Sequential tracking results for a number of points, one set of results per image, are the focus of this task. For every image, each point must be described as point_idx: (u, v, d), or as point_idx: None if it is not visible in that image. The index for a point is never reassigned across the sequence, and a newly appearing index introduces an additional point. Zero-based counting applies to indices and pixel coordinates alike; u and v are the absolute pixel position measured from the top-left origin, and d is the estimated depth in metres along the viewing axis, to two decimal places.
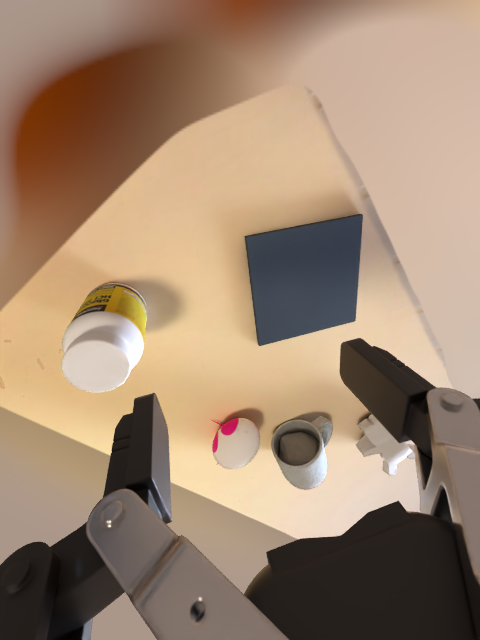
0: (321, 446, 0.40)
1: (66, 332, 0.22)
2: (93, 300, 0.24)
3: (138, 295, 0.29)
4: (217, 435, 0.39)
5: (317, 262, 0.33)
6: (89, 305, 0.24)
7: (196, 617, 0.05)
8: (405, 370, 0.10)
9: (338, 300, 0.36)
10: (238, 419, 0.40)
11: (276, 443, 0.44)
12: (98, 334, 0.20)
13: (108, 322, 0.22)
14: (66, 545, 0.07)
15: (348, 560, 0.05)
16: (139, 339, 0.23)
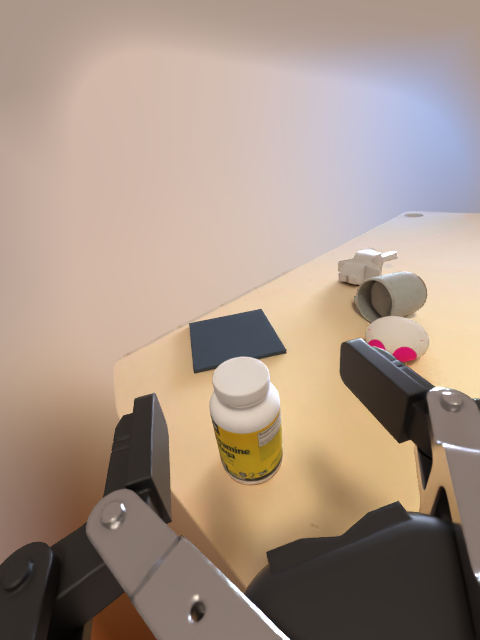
0: (362, 282, 0.46)
1: (223, 422, 0.22)
2: (215, 435, 0.25)
3: None
4: (393, 355, 0.36)
5: (216, 334, 0.48)
6: (214, 429, 0.25)
7: (196, 616, 0.05)
8: (405, 370, 0.10)
9: (245, 319, 0.51)
10: None
11: None
12: None
13: (214, 391, 0.25)
14: (66, 545, 0.07)
15: (348, 560, 0.05)
16: None
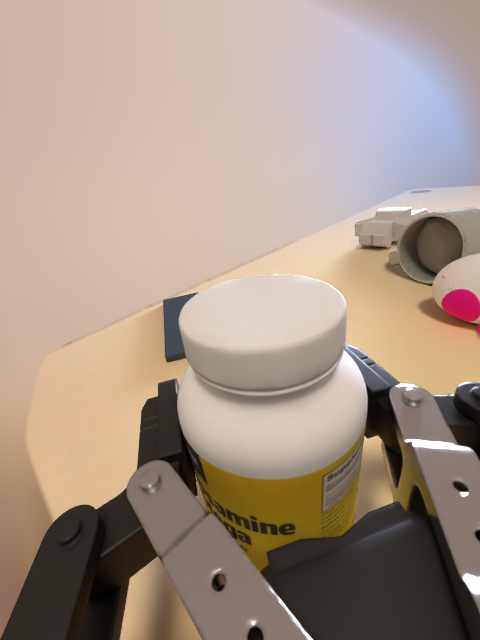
0: (407, 226, 0.32)
1: (215, 447, 0.07)
2: None
3: None
4: None
5: None
6: None
7: (217, 587, 0.05)
8: (375, 368, 0.11)
9: None
10: (441, 304, 0.25)
11: None
12: None
13: (190, 364, 0.10)
14: (107, 509, 0.07)
15: (348, 560, 0.05)
16: None
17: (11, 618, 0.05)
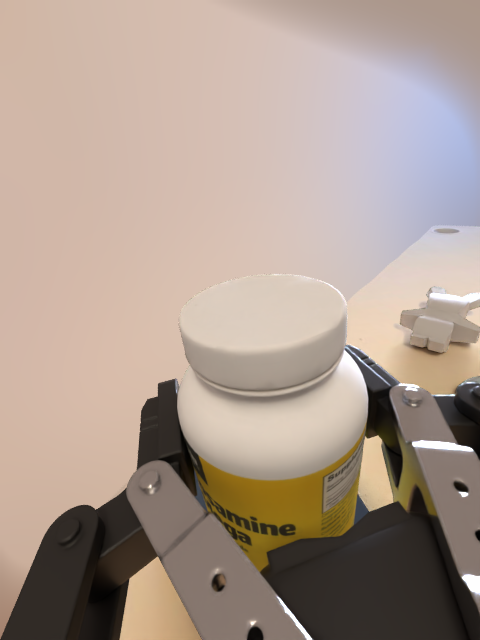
0: None
1: (215, 447, 0.07)
2: None
3: None
4: None
5: None
6: (193, 465, 0.09)
7: (217, 588, 0.05)
8: (375, 368, 0.11)
9: None
10: None
11: None
12: None
13: (190, 365, 0.10)
14: (107, 509, 0.07)
15: (348, 560, 0.05)
16: None
17: (11, 618, 0.05)
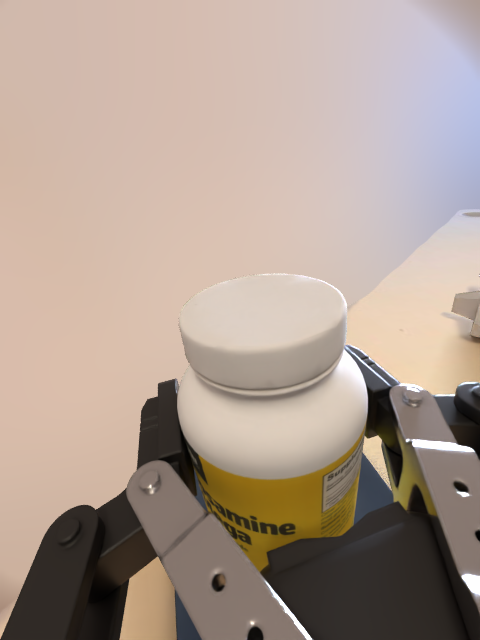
0: None
1: (215, 446, 0.07)
2: None
3: None
4: None
5: None
6: None
7: (217, 588, 0.05)
8: (375, 368, 0.11)
9: None
10: None
11: None
12: None
13: (190, 364, 0.10)
14: (107, 509, 0.07)
15: (348, 560, 0.05)
16: None
17: (11, 618, 0.05)
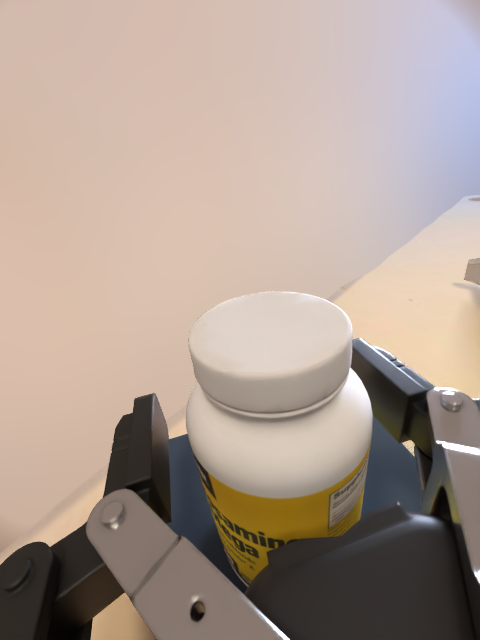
0: None
1: (224, 466, 0.07)
2: None
3: None
4: None
5: None
6: (201, 479, 0.10)
7: (196, 617, 0.05)
8: (405, 370, 0.10)
9: None
10: None
11: None
12: None
13: None
14: (66, 545, 0.07)
15: (348, 560, 0.05)
16: None
17: None
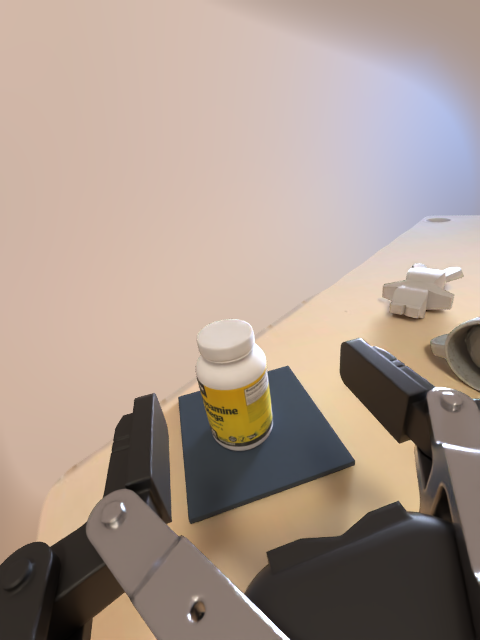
0: (459, 326, 0.28)
1: (209, 380, 0.22)
2: (203, 401, 0.25)
3: None
4: None
5: None
6: (201, 394, 0.24)
7: (196, 616, 0.05)
8: (405, 370, 0.10)
9: None
10: None
11: None
12: None
13: (200, 355, 0.25)
14: (66, 545, 0.07)
15: (348, 560, 0.05)
16: None
17: None
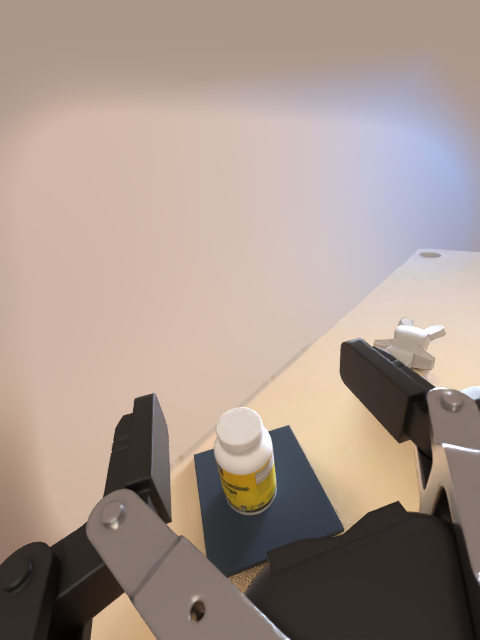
0: None
1: (226, 466, 0.27)
2: None
3: None
4: None
5: None
6: (218, 470, 0.29)
7: (196, 617, 0.05)
8: (405, 370, 0.10)
9: None
10: None
11: None
12: None
13: (217, 437, 0.30)
14: (66, 544, 0.07)
15: (348, 560, 0.05)
16: None
17: None
